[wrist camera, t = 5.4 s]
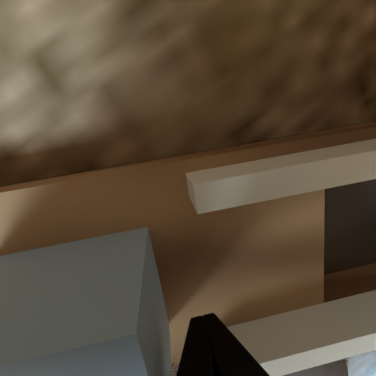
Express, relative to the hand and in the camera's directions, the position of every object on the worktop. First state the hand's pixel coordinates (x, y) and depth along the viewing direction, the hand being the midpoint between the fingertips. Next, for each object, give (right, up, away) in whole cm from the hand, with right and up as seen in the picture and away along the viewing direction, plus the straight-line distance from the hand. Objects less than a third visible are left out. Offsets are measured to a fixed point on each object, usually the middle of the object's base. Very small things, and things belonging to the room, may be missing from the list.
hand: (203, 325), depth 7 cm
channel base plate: (+1, +2, +5) cm, 5 cm away
